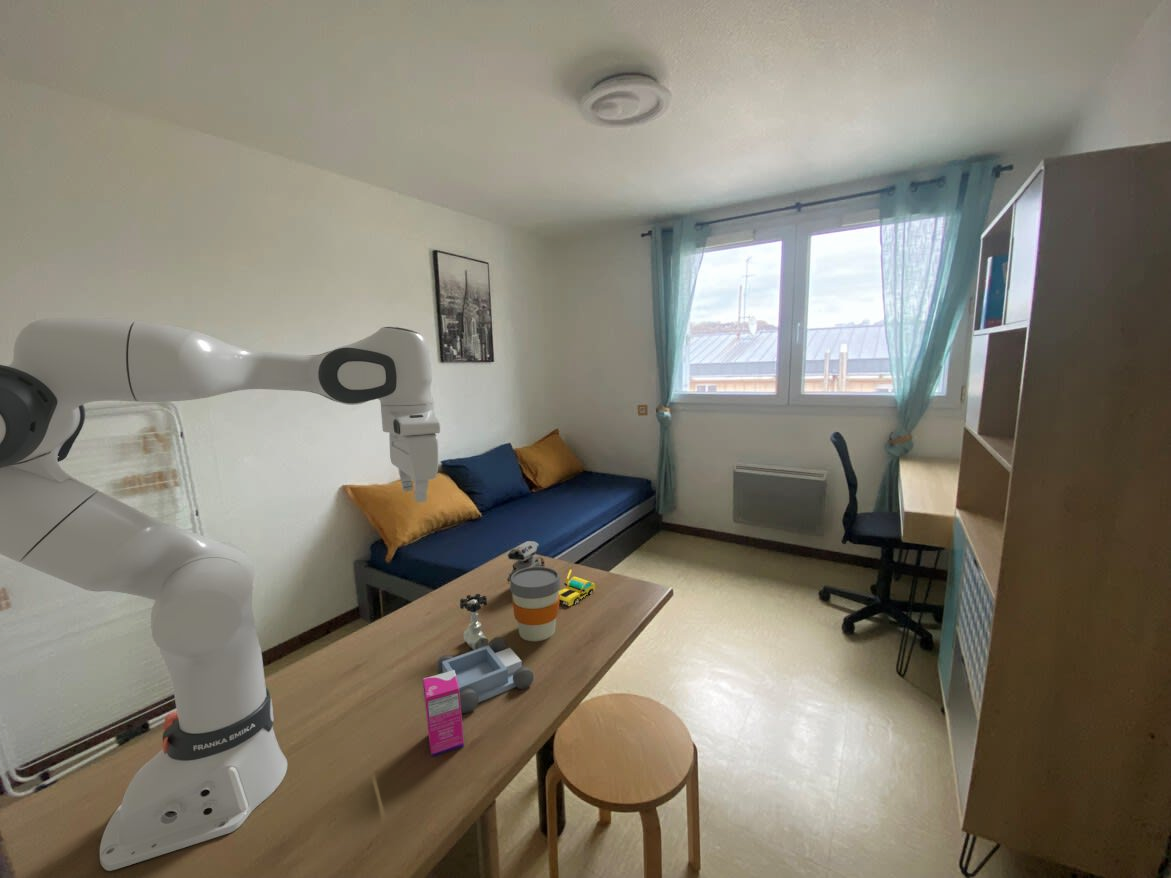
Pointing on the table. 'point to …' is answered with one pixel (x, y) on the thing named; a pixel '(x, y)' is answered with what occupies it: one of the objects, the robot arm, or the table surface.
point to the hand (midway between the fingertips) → (413, 495)
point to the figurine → (524, 557)
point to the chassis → (486, 673)
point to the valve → (474, 621)
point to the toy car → (575, 590)
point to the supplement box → (443, 712)
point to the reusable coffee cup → (535, 601)
